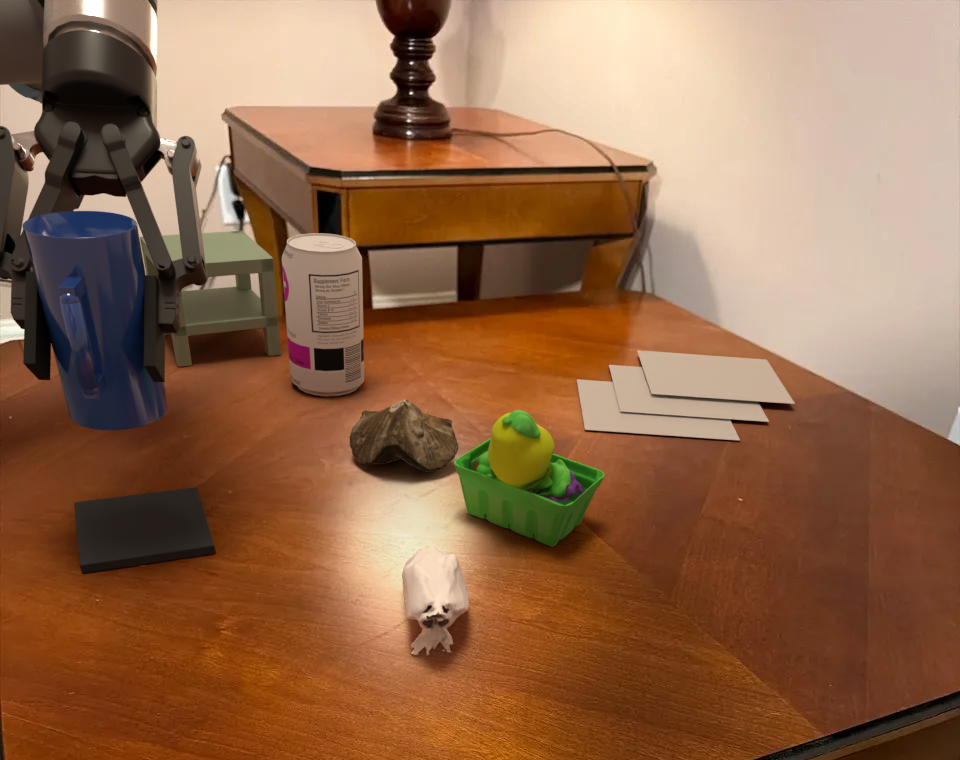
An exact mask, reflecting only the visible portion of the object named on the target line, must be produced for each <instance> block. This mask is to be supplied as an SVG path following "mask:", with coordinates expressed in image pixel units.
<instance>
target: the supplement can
mask: <svg viewBox="0 0 960 760" xmlns="http://www.w3.org/2000/svg"><path fill="white" fill-rule="evenodd" d="M281 270H282V282H283V284H282V285H283V295H284V309H285V325H286V336H287V337H286V338H287V350H288V352H287V353H288V365H289V366H288V367H289V379H290V381H291V382H292V383H293V385H295V386H296V387H297V388H298V389H299V390H300V391H302V392H304V393H305V394H310V395H313V396H317V397H319V396H320V397H340V396H343V395H348V394H351V393H353V392H355V391H356V390H358V389H359V387H360V386H361V385H362V384H363V383H364V382H365V345H364V343H365V342H364V294H363V293H364V291H363V290H364V289H363V257H362V255H361V253H360V251H359V248H358V247H357V242H356V241H355V240H354V239H353V238H350V237H347V236H345V235H340V234H336V233H335V234H334V233H323V232H320V233H319V232H314V233H311V232H309V233H302V234H301V233H300V234H297V235H292V236H290V237H289V238H287V239H286V246H285V247H284V249H283V253H282V255H281Z"/></svg>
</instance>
